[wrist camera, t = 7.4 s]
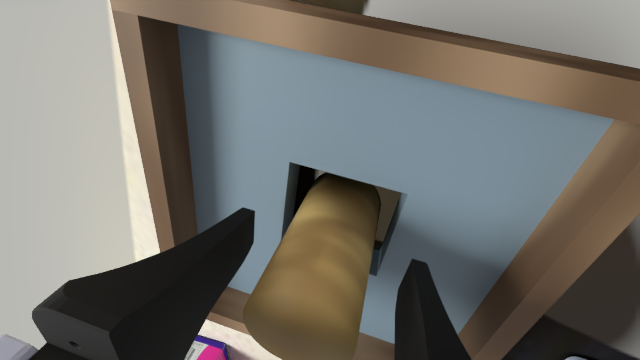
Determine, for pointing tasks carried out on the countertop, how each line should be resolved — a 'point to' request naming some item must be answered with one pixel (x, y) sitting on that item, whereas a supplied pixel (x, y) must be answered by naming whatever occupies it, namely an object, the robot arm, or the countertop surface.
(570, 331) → the countertop surface
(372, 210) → the peg
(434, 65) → the tray
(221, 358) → the supplement box
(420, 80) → the bore plate
